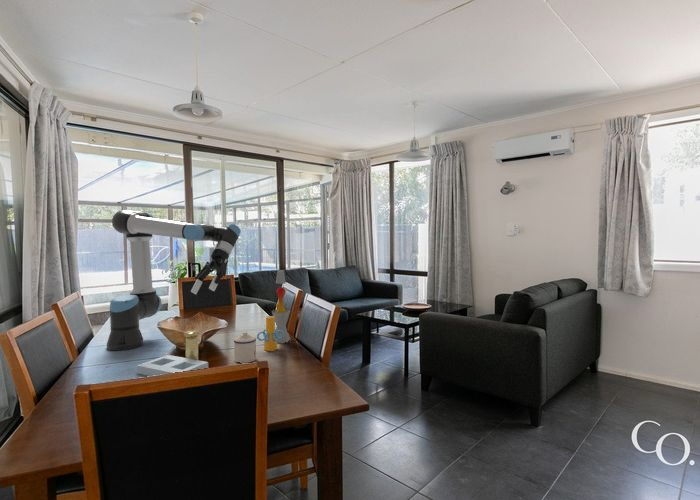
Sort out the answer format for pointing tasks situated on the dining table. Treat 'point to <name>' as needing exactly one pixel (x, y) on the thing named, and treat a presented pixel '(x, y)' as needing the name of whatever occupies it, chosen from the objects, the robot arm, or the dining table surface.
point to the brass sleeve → (191, 344)
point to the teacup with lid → (245, 348)
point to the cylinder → (270, 334)
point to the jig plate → (170, 365)
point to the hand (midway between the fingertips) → (202, 291)
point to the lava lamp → (281, 310)
